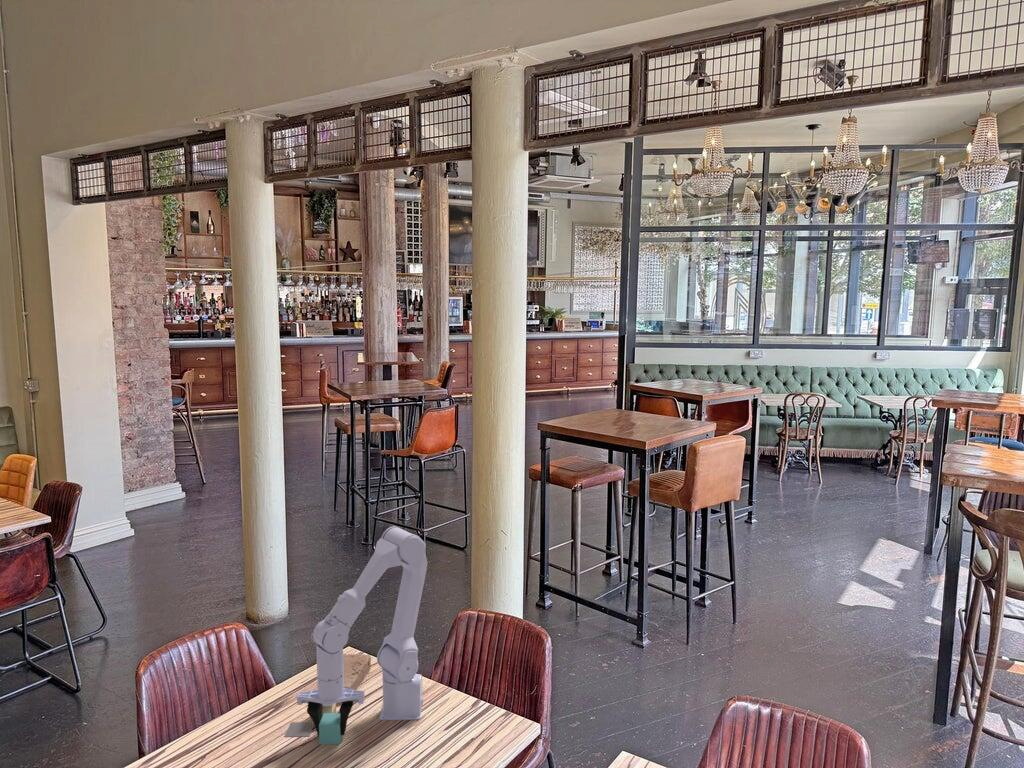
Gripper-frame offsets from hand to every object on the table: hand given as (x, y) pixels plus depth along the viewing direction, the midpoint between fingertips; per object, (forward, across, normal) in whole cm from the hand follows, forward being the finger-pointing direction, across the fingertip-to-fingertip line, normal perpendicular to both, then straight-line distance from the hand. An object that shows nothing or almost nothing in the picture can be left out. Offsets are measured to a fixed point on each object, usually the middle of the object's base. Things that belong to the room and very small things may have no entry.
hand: (331, 732), depth 155 cm
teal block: (+1, 0, 0) cm, 1 cm away
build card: (+1, -4, +4) cm, 6 cm away
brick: (+2, -2, +24) cm, 24 cm away
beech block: (+1, -4, +8) cm, 9 cm away
